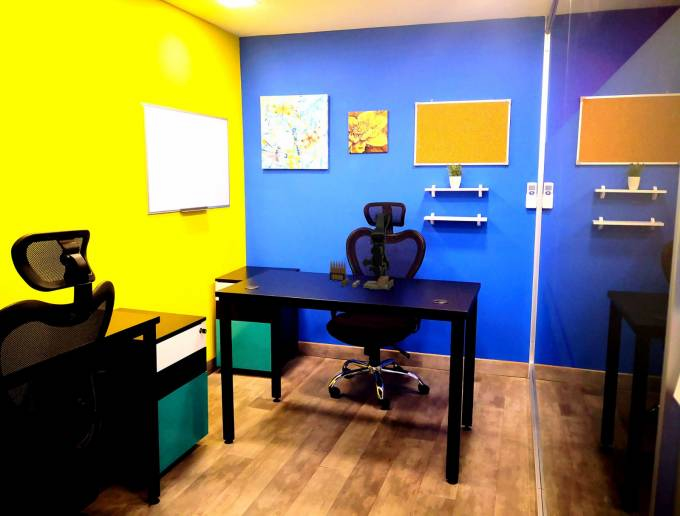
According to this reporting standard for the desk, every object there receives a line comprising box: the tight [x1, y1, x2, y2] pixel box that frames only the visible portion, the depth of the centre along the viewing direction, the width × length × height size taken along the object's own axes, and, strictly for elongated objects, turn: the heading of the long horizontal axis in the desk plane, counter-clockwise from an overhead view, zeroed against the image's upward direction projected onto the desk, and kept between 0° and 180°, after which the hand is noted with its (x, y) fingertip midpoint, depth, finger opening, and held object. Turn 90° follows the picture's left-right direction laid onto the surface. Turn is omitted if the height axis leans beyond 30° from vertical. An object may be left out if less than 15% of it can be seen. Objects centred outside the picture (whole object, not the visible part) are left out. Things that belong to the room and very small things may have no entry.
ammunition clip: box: [328, 260, 347, 282], centre depth 324 cm, size 11×2×12 cm, turn 63°
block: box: [378, 275, 390, 286], centre depth 306 cm, size 10×4×4 cm, turn 165°
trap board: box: [341, 277, 394, 291], centre depth 308 cm, size 13×27×4 cm, turn 75°
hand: (377, 281), depth 307 cm, fingers closed
